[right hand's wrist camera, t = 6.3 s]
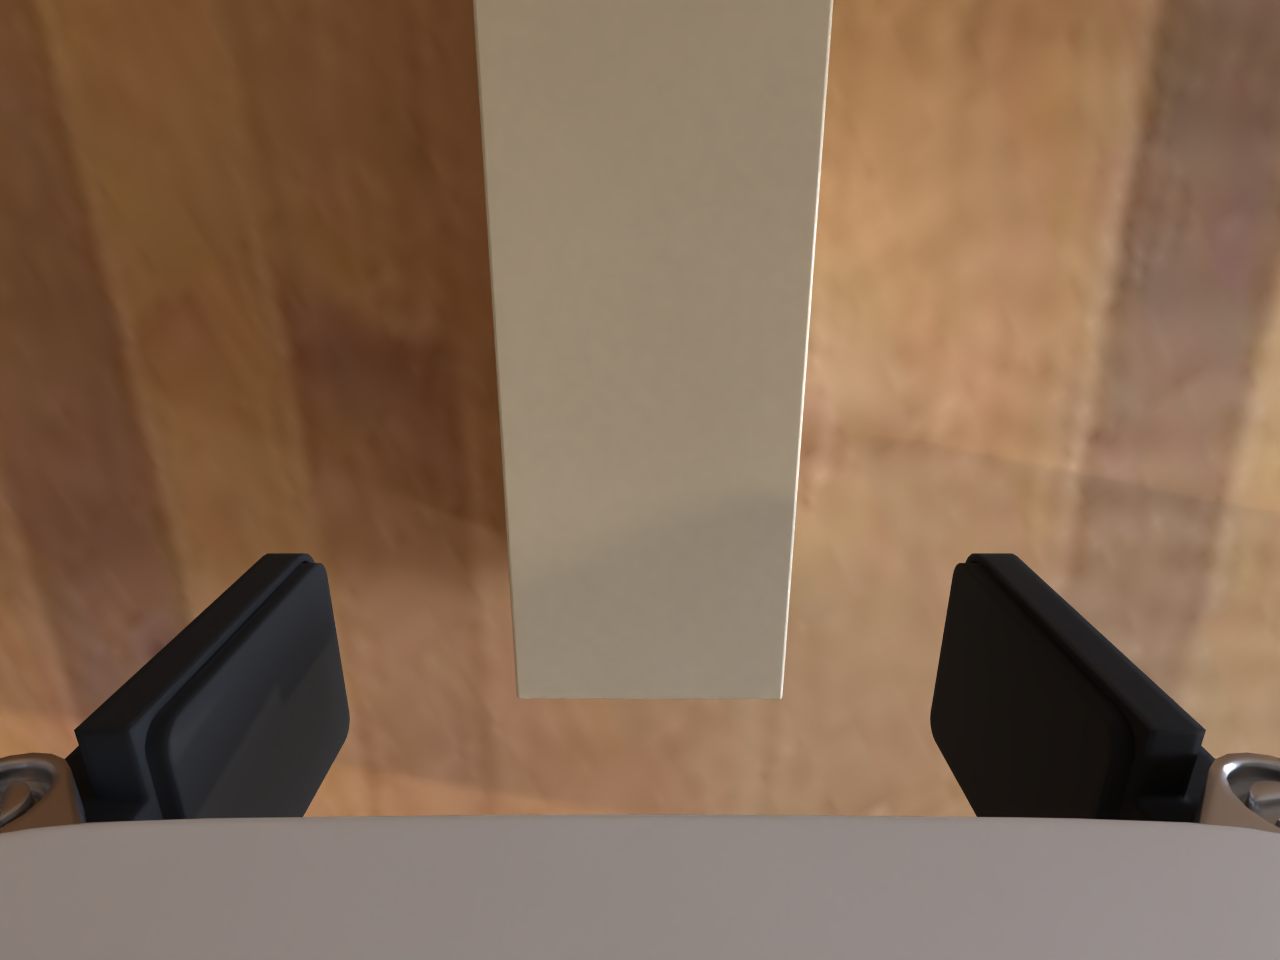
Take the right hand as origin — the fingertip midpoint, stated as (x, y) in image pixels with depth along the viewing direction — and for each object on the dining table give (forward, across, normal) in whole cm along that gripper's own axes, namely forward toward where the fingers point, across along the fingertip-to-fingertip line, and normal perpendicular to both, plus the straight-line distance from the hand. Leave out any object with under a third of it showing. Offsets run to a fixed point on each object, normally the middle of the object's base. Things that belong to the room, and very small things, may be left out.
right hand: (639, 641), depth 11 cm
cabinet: (+13, 0, -6) cm, 14 cm away
